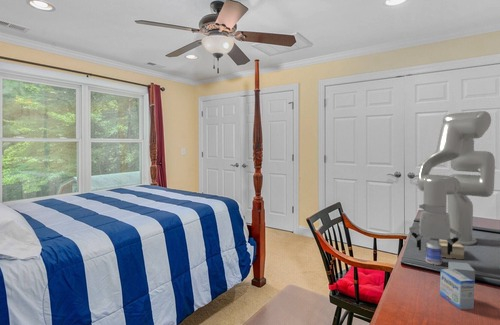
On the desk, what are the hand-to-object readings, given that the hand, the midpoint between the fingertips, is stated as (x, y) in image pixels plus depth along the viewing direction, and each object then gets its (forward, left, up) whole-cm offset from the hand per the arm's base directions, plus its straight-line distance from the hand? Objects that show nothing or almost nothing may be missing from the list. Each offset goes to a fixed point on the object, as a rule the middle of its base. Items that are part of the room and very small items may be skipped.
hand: (433, 251), depth 111 cm
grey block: (+11, +5, -5) cm, 13 cm away
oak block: (-10, +7, -5) cm, 13 cm away
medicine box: (+29, -3, -5) cm, 29 cm away
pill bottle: (0, 0, -5) cm, 5 cm away
